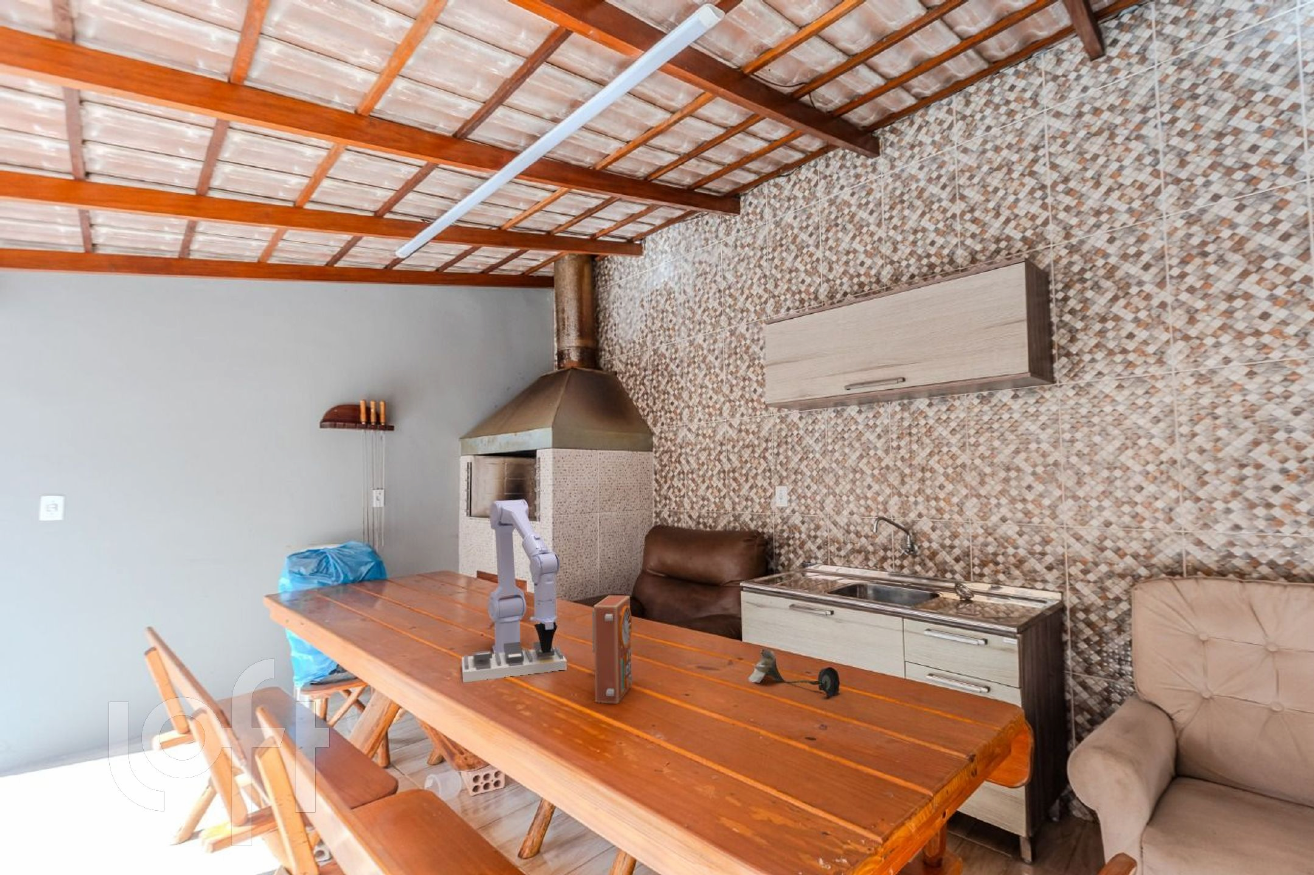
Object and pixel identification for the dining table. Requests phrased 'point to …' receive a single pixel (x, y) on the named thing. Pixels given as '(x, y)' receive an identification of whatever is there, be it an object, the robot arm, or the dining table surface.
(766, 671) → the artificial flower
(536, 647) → the block
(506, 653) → the middle rocker
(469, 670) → the switch board
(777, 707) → the dining table surface
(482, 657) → the rocker
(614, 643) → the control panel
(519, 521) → the robot arm
